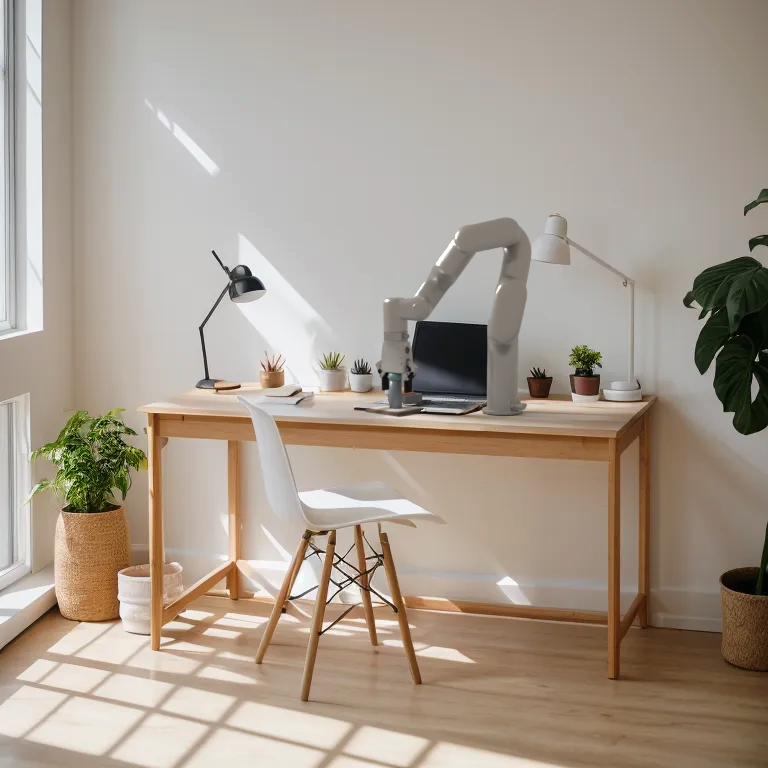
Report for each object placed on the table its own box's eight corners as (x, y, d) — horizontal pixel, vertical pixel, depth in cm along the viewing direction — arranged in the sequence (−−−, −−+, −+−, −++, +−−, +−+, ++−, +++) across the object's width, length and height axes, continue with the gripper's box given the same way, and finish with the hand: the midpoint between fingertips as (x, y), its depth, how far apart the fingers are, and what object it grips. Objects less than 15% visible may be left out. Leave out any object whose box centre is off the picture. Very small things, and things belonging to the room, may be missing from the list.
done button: (415, 396, 329) (415, 388, 328) (405, 397, 325) (405, 390, 325) (404, 394, 332) (404, 387, 332) (394, 396, 328) (394, 388, 328)
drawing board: (425, 411, 314) (425, 407, 314) (397, 416, 305) (397, 412, 304) (393, 406, 324) (393, 403, 323) (365, 411, 314) (365, 407, 314)
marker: (405, 407, 314) (404, 373, 313) (395, 409, 311) (395, 374, 310) (395, 406, 317) (395, 372, 316) (386, 407, 314) (385, 373, 313)
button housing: (422, 404, 329) (422, 393, 328) (405, 406, 323) (405, 396, 323) (404, 401, 334) (404, 391, 334) (388, 404, 329) (388, 394, 328)
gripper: (424, 337, 308) (425, 392, 310) (384, 335, 320) (385, 387, 322) (407, 339, 302) (409, 395, 305) (367, 336, 314) (369, 390, 317)
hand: (397, 391), depth 313 cm, fingers open, 9 cm apart
